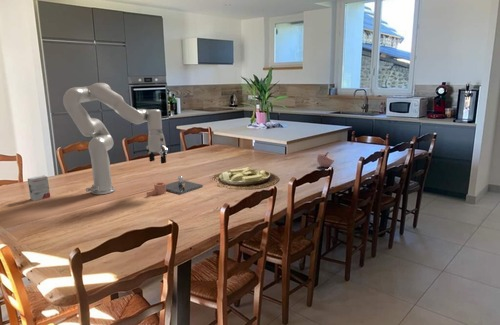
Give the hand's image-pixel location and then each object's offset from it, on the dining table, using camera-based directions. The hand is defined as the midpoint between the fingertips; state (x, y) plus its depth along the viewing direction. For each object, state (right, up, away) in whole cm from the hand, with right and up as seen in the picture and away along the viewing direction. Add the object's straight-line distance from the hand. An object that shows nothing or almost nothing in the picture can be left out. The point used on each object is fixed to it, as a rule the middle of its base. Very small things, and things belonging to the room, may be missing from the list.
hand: (157, 162), depth 208 cm
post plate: (+11, -15, +11) cm, 22 cm away
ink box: (-62, -20, -7) cm, 65 cm away
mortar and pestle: (+106, -4, +60) cm, 122 cm away
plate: (+48, -12, +29) cm, 58 cm away
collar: (-1, -18, 0) cm, 18 cm away
